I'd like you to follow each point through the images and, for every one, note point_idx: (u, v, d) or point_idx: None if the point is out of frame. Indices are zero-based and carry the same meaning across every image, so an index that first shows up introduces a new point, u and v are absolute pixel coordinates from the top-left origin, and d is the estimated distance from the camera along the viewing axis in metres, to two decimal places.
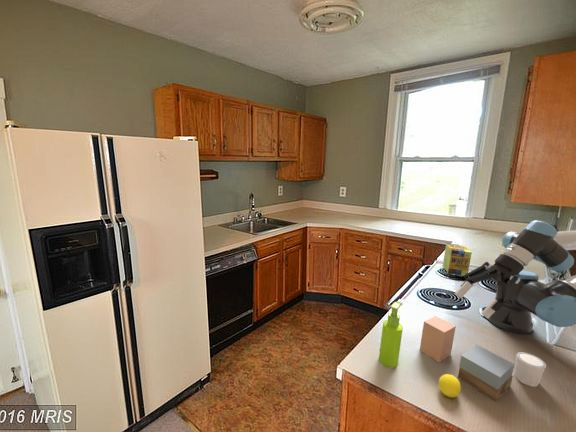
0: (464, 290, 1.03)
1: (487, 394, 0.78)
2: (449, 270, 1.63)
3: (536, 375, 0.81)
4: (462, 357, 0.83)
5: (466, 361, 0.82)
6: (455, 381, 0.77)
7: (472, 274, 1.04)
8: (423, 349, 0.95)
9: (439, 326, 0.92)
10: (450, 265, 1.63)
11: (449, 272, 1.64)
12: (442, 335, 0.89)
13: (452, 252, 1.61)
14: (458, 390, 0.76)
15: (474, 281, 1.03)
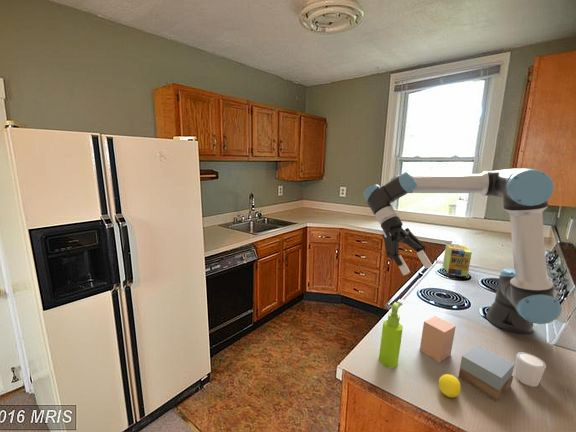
0: (423, 259, 1.04)
1: (488, 394, 0.78)
2: (449, 270, 1.63)
3: (536, 375, 0.81)
4: (463, 358, 0.83)
5: (467, 361, 0.82)
6: (455, 381, 0.77)
7: None
8: (423, 349, 0.95)
9: (439, 326, 0.92)
10: (450, 265, 1.63)
11: (449, 272, 1.64)
12: (442, 335, 0.89)
13: (452, 252, 1.61)
14: (458, 390, 0.76)
15: (417, 247, 1.05)
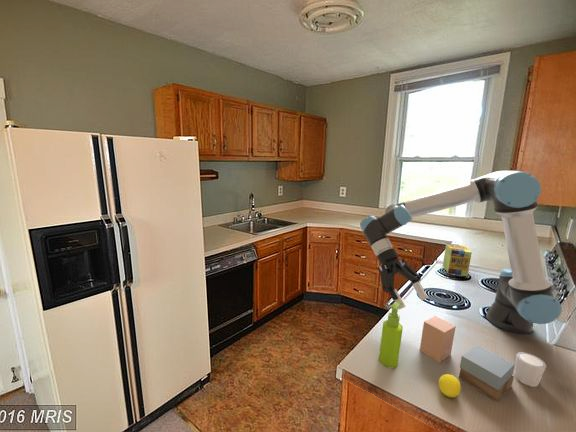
0: (419, 291, 1.06)
1: (488, 394, 0.78)
2: (449, 270, 1.63)
3: (536, 375, 0.81)
4: (462, 358, 0.83)
5: (467, 361, 0.82)
6: (455, 381, 0.77)
7: None
8: (423, 349, 0.95)
9: (439, 326, 0.92)
10: (450, 265, 1.63)
11: (449, 272, 1.64)
12: (442, 335, 0.89)
13: (452, 252, 1.61)
14: (458, 390, 0.76)
15: (413, 279, 1.07)
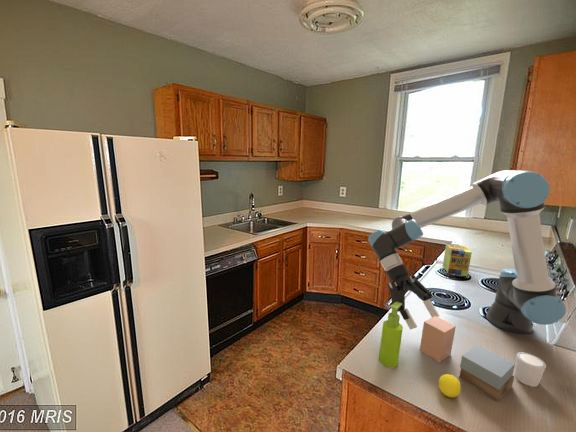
0: (430, 309, 1.02)
1: (488, 394, 0.78)
2: (449, 270, 1.63)
3: (536, 375, 0.81)
4: (463, 357, 0.83)
5: (467, 361, 0.82)
6: (455, 381, 0.77)
7: None
8: (423, 349, 0.95)
9: (439, 326, 0.92)
10: (450, 265, 1.63)
11: (449, 272, 1.64)
12: (442, 335, 0.89)
13: (452, 252, 1.61)
14: (458, 390, 0.76)
15: (423, 296, 1.03)
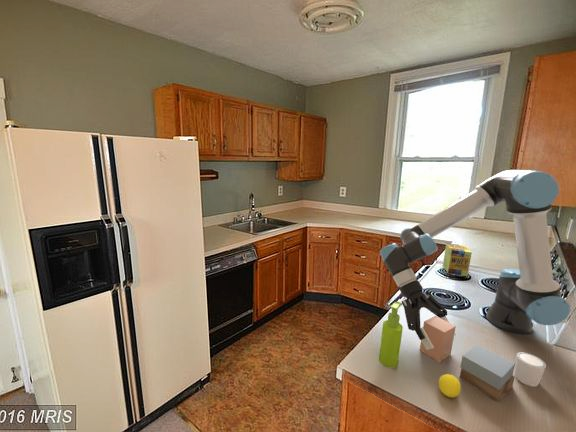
0: None
1: (489, 394, 0.78)
2: (449, 270, 1.63)
3: (536, 375, 0.81)
4: (463, 357, 0.83)
5: (467, 361, 0.82)
6: (455, 381, 0.77)
7: None
8: (423, 349, 0.95)
9: (439, 326, 0.92)
10: (450, 265, 1.63)
11: (449, 272, 1.64)
12: (442, 335, 0.89)
13: (452, 252, 1.61)
14: (458, 390, 0.76)
15: (438, 313, 1.00)
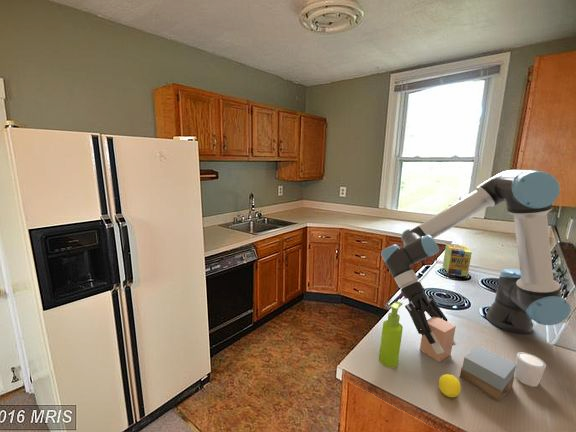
0: None
1: (489, 394, 0.78)
2: (449, 270, 1.63)
3: (536, 375, 0.81)
4: (465, 359, 0.82)
5: (469, 362, 0.82)
6: (455, 381, 0.77)
7: None
8: (423, 349, 0.95)
9: (439, 326, 0.92)
10: (450, 265, 1.63)
11: (449, 272, 1.64)
12: (442, 335, 0.89)
13: (452, 252, 1.61)
14: (458, 390, 0.76)
15: None
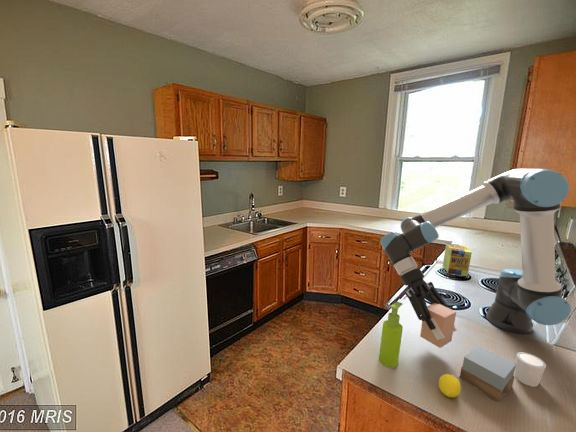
0: None
1: (489, 394, 0.78)
2: (449, 270, 1.63)
3: (536, 375, 0.81)
4: (465, 359, 0.82)
5: (469, 362, 0.81)
6: (455, 381, 0.77)
7: None
8: (423, 336, 0.94)
9: (440, 311, 0.91)
10: (450, 265, 1.63)
11: (449, 272, 1.64)
12: (442, 320, 0.88)
13: (452, 252, 1.61)
14: (458, 390, 0.76)
15: None
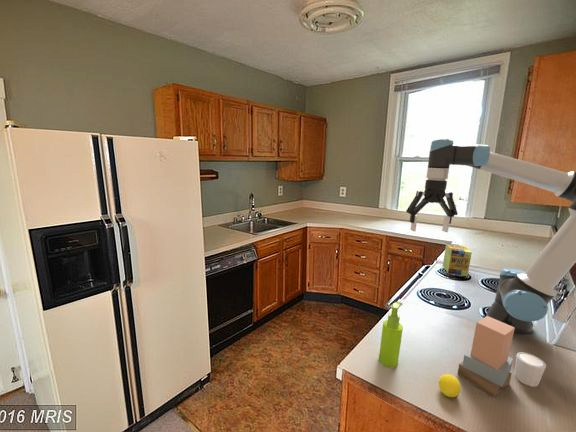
0: (445, 223, 1.14)
1: (486, 390, 0.79)
2: (449, 270, 1.63)
3: (536, 375, 0.81)
4: (465, 356, 0.83)
5: (469, 360, 0.82)
6: (455, 381, 0.77)
7: (450, 208, 1.13)
8: (475, 354, 0.82)
9: (496, 327, 0.79)
10: (450, 265, 1.63)
11: (449, 272, 1.64)
12: (501, 338, 0.76)
13: (452, 252, 1.61)
14: (458, 390, 0.76)
15: (447, 212, 1.12)
